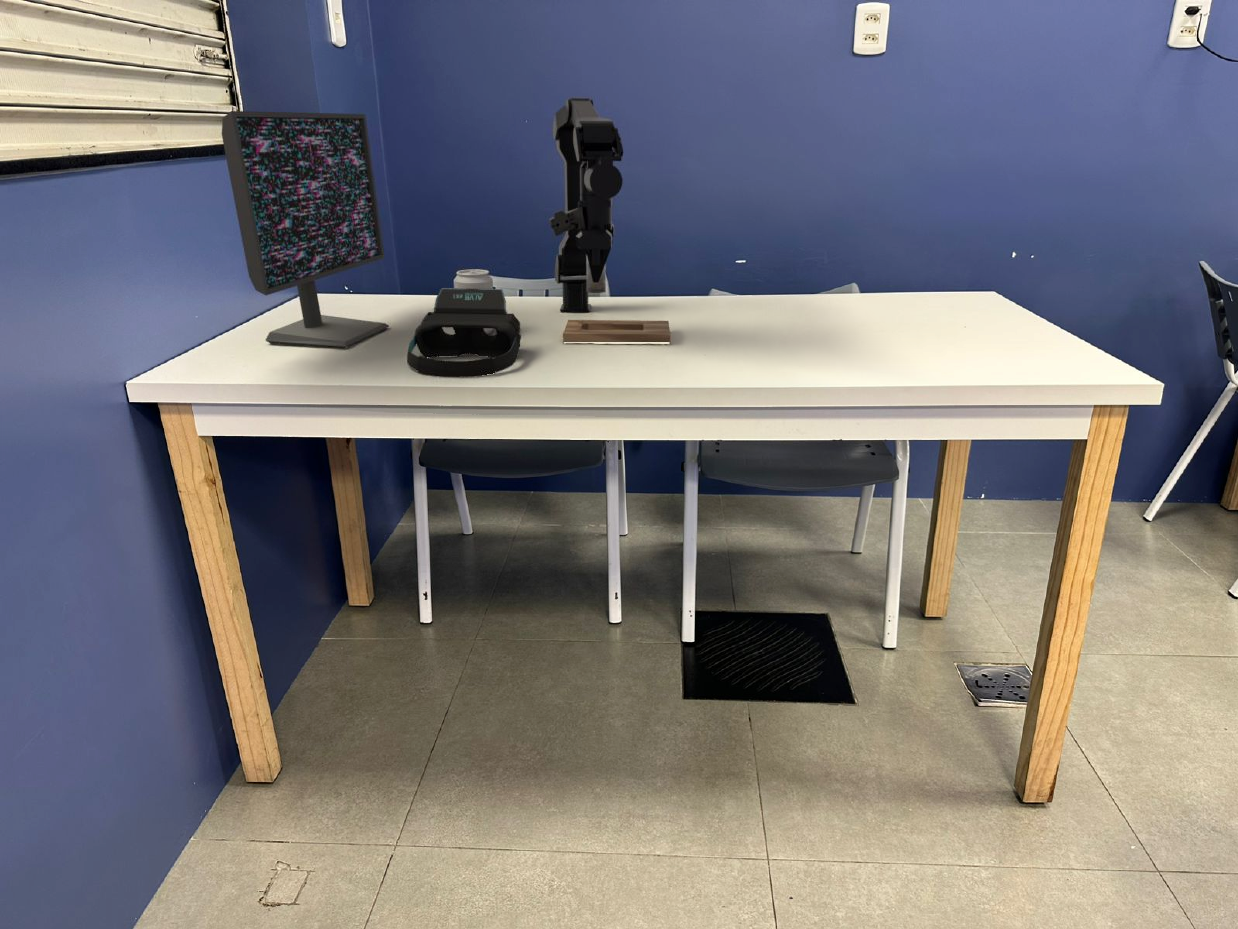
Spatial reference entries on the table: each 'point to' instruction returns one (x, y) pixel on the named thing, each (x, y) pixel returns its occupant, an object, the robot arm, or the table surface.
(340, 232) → the computer monitor
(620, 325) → the keyhole board
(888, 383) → the table surface
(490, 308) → the virtual reality headset
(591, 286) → the peg
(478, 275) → the can
